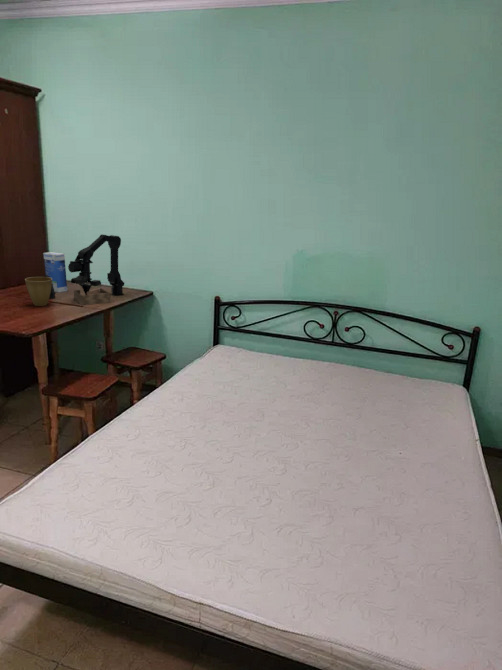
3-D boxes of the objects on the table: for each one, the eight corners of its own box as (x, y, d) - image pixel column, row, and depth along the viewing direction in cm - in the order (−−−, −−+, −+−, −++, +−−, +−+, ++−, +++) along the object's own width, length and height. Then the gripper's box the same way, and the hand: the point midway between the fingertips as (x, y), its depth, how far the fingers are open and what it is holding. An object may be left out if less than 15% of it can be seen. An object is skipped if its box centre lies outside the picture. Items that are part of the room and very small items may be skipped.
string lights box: (67, 291, 323) (65, 253, 315) (58, 292, 317) (55, 254, 309) (55, 288, 330) (52, 251, 322) (46, 290, 323) (42, 252, 316)
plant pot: (28, 308, 275) (25, 281, 270) (27, 302, 288) (24, 277, 283) (55, 306, 282) (53, 280, 277) (53, 301, 294) (50, 276, 290)
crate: (101, 297, 311) (101, 288, 309) (110, 302, 298) (110, 292, 297) (74, 299, 300) (73, 290, 298) (82, 305, 288) (81, 295, 286)
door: (99, 296, 310) (98, 288, 308) (100, 296, 309) (99, 288, 308) (87, 300, 298) (86, 291, 297) (88, 300, 298) (87, 292, 296)
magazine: (58, 296, 299) (46, 275, 295) (40, 304, 301) (28, 283, 296) (60, 295, 303) (48, 274, 299) (42, 303, 304) (30, 282, 300)
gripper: (64, 271, 290) (65, 295, 294) (90, 274, 284) (91, 299, 289) (76, 268, 300) (77, 292, 304) (100, 271, 295) (101, 295, 299)
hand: (86, 294), depth 299 cm, fingers closed
